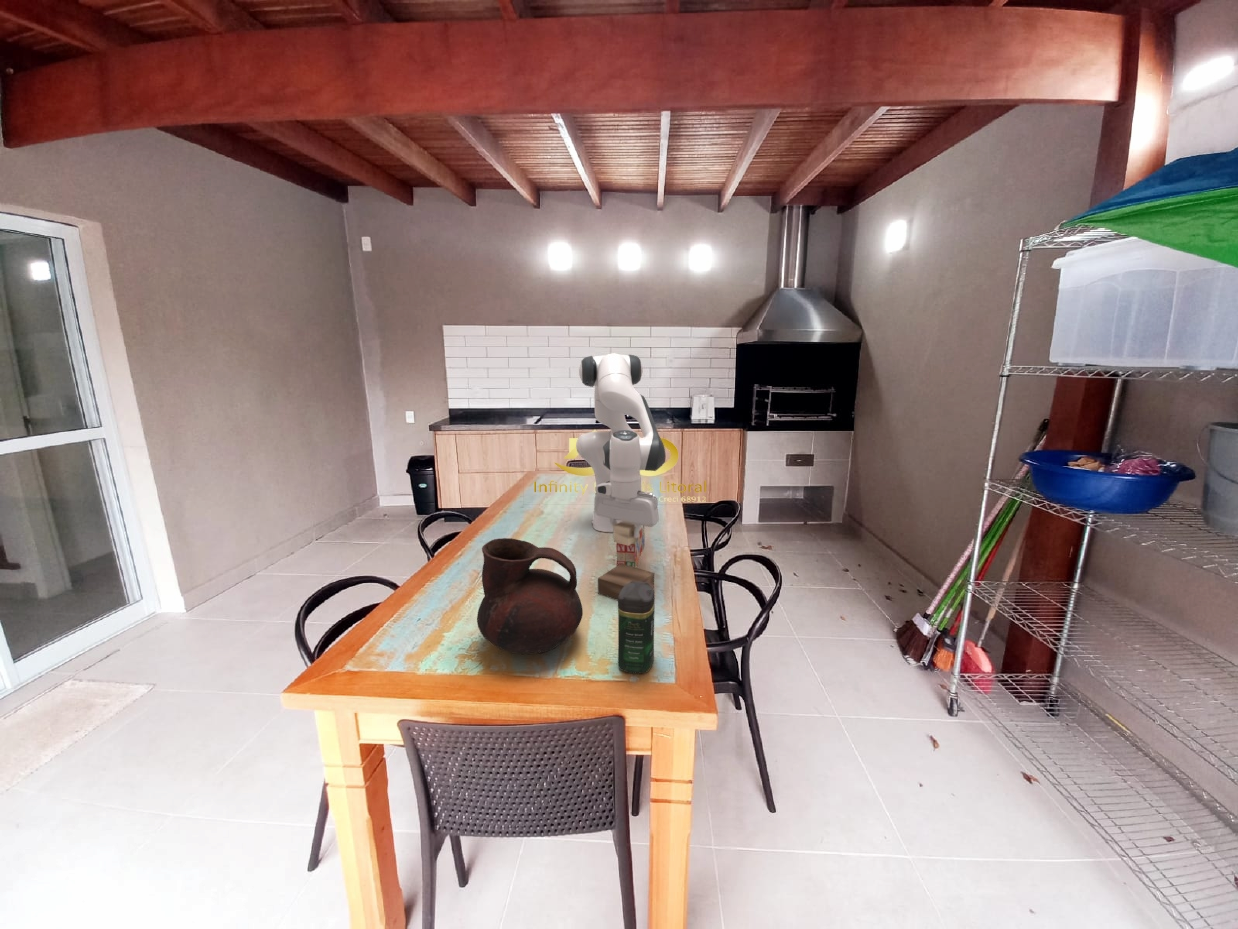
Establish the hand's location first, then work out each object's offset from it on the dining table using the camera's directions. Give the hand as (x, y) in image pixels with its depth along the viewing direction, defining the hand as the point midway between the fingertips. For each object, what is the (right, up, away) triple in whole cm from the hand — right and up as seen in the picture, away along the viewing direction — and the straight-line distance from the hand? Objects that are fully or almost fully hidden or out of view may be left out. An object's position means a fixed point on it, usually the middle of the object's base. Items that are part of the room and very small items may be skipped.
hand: (626, 534), depth 141 cm
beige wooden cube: (0, -2, 0) cm, 2 cm away
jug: (-23, -23, -20) cm, 39 cm away
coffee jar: (+2, -25, -29) cm, 39 cm away
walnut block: (0, -17, +4) cm, 18 cm away
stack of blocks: (+2, -12, +28) cm, 31 cm away
